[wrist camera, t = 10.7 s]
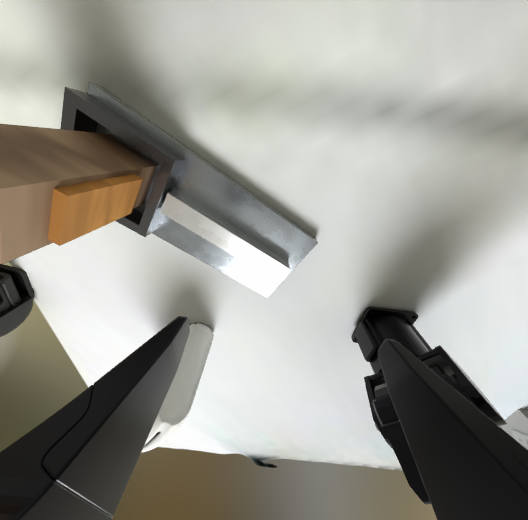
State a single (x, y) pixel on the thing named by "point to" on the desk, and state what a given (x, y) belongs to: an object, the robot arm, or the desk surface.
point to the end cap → (14, 298)
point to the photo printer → (182, 386)
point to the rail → (194, 199)
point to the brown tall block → (64, 185)
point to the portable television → (518, 426)
